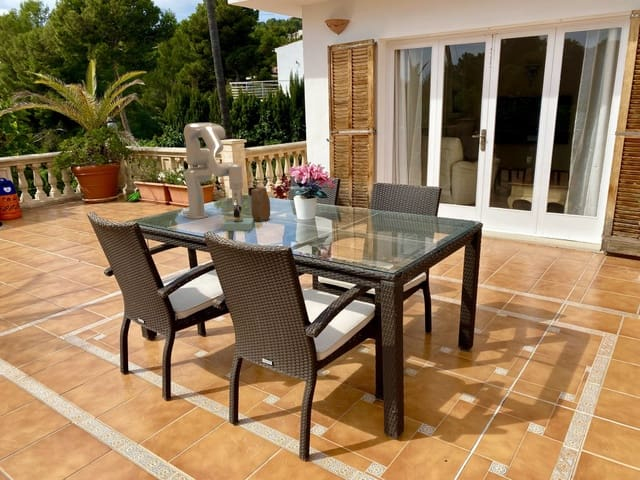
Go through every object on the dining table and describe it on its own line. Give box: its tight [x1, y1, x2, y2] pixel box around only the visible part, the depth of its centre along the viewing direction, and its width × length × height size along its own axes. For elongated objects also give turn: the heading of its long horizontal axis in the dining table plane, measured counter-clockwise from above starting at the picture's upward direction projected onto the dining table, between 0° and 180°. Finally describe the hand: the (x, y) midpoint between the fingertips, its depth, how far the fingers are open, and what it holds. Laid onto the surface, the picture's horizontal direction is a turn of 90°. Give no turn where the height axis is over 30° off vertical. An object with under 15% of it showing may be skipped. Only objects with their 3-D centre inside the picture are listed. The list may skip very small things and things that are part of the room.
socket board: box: [222, 217, 255, 232], centre depth 286 cm, size 16×14×4 cm
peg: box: [235, 209, 242, 222], centre depth 285 cm, size 4×4×10 cm
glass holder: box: [247, 186, 269, 212], centre depth 331 cm, size 9×14×15 cm, turn 70°
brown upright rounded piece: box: [251, 186, 271, 223], centre depth 302 cm, size 11×8×20 cm
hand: (237, 215), depth 285 cm, fingers open, 9 cm apart
